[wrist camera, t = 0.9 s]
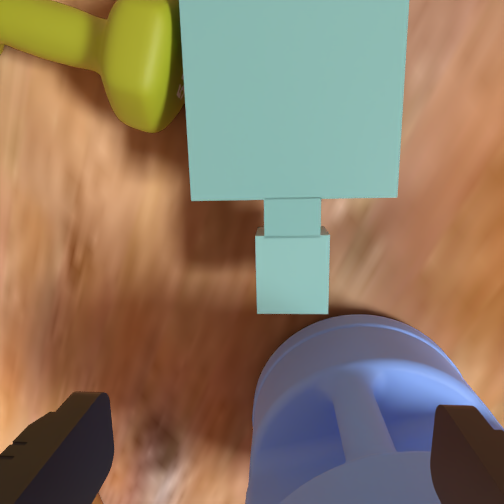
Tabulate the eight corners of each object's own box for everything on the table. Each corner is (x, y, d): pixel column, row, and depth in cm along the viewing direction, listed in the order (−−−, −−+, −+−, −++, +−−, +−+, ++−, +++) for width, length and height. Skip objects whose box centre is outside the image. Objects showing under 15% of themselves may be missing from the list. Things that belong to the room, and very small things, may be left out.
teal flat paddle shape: (188, -43, 21) (174, -73, 18) (396, -56, 20) (414, -89, 17) (206, 296, 25) (197, 313, 23) (378, 296, 24) (390, 314, 22)
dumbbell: (-44, 72, 27) (-157, 43, 20) (-31, -56, 25) (-150, -138, 18) (182, 143, 27) (149, 139, 20) (213, 21, 25) (188, -32, 18)
